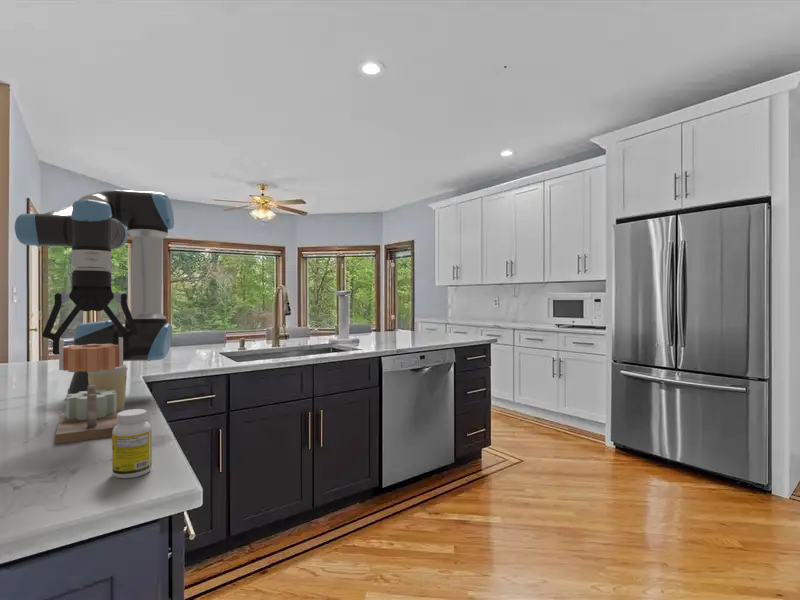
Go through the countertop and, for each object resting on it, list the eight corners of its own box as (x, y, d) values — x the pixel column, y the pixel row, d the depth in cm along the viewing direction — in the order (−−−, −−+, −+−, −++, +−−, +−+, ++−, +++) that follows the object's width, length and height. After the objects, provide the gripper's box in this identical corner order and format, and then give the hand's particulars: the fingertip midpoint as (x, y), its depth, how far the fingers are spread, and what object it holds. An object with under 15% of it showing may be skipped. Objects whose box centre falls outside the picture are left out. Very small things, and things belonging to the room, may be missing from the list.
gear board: (60, 422, 118) (60, 385, 118) (121, 415, 125) (121, 381, 125) (55, 443, 102) (55, 401, 101) (125, 434, 109) (126, 395, 109)
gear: (58, 415, 117) (58, 394, 117) (104, 406, 126) (104, 388, 126) (77, 422, 111) (77, 400, 111) (124, 412, 120) (124, 393, 120)
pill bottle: (122, 466, 89) (122, 408, 89) (157, 466, 89) (157, 407, 89) (105, 480, 83) (105, 416, 82) (142, 479, 83) (142, 416, 83)
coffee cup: (135, 408, 133) (135, 365, 133) (104, 416, 124) (104, 370, 124) (110, 405, 136) (110, 363, 136) (78, 413, 127) (78, 368, 127)
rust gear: (64, 366, 110) (64, 345, 110) (118, 363, 116) (118, 342, 116) (62, 373, 101) (62, 350, 101) (120, 369, 107) (120, 347, 107)
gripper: (25, 267, 98) (25, 374, 99) (151, 271, 111) (150, 365, 111) (29, 268, 105) (29, 369, 105) (147, 272, 117) (147, 361, 118)
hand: (92, 367), depth 108 cm, fingers closed on rust gear, 11 cm apart
